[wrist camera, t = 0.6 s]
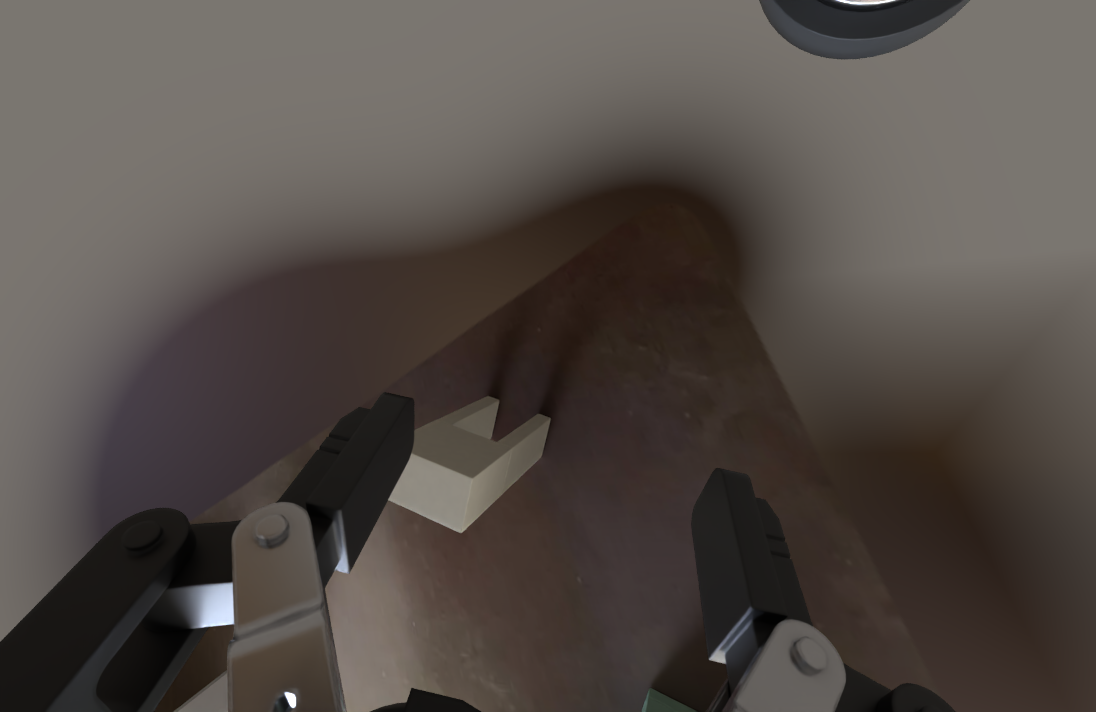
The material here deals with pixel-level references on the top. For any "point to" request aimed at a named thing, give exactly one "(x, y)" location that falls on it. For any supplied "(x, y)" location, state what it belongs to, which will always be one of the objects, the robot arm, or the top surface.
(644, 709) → the bin
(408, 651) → the top surface
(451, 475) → the clip
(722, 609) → the robot arm
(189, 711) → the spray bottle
